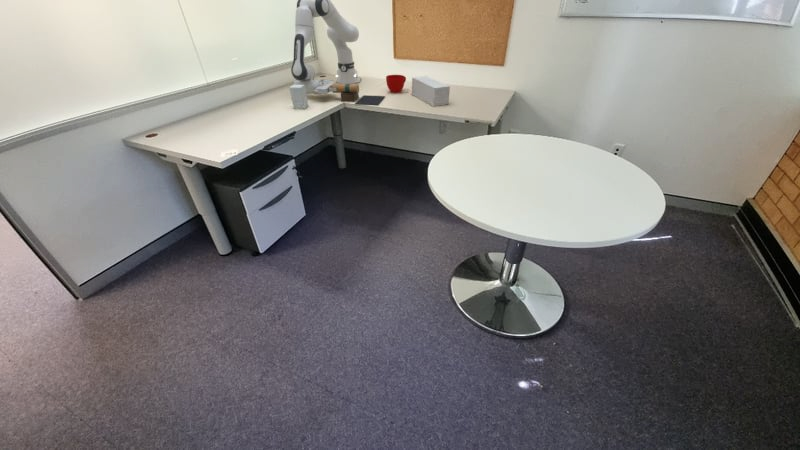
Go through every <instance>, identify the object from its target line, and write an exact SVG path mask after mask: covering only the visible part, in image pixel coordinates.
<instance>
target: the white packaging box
mask: <svg viewBox="0 0 800 450" xmlns="http://www.w3.org/2000/svg"><path fill="white" fill-rule="evenodd" d="M289 92H290V93H289V94H290V97H291V102H292V107H293V109H294V110H305V109H307V107H309V102H308V94H306V90H305V85H294V84H292V85H290V87H289Z"/></svg>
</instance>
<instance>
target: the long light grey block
mask: <svg viewBox="0 0 800 450" xmlns="http://www.w3.org/2000/svg"><path fill="white" fill-rule="evenodd" d="M450 89H451V86H450V85H448V84H446V83H444V82H441V81H439V80H437V79H434V78H432V77H429V76H428V75H424V76H423V75H422V76H413V77H411V95H412V96H415V97H416V98H418V99H420V100H422V101H423V102H425V103H426V104H427V103H428V104H429V105H431V106H432V107H438V106H445V105H449V102H450V93H451V90H450Z"/></svg>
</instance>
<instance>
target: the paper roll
mask: <svg viewBox="0 0 800 450" xmlns="http://www.w3.org/2000/svg"><path fill="white" fill-rule="evenodd" d="M332 88H337V91H332V93H333V94H341V93H360V85H359V83H354V84H340V83H336V84H332Z"/></svg>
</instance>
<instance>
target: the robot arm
mask: <svg viewBox="0 0 800 450" xmlns="http://www.w3.org/2000/svg"><path fill="white" fill-rule="evenodd" d="M294 17H295V19H294V20H295V23H294V26H295V27H294V28H295V35H294V40H293V41H294V42H293V61H292V65H291V68H290V71H291V76H292V77H293V78H294V79H295V80H294V81H293V85H305V90H306V95H310V94H311V95H328V94H329V93H330V92H332V91H337V88H332V84H359V83H360V81H361V77H359V75H358V71H357V69H356V68H355V61H353V60H354V58H353V51H352V49H351V47H349V46H348V44H347V43H354V42H357V41H358V39H359V36H360V31H359V29H358V28H357V26H355V25H354V24H351V23H350V22H349V21H348V20H346V18H344V17H343V16H342V15H341V13H340V12H339V11H338V9H337V7H335V4H334V3H333V1H332V0H297V1H296V9H295V16H294ZM320 17H321V19H323V21H324V22H325V24H326V25H327V29H326V34H327V37H328V39H329V40H330V41H331V42H332V43H333V46H334V47H335V48H334V49H335V51H336V56H337V68H338V69H337V70H336V75H335V77H336V80H335V81H334V80H325V79H315V74H316V73H315V72H316V71H315V69H314V67H313V66H312V65H310V64H306V63H305V48H306V46H307V45H308V44H310V43H311V42H312V41H313V40H314V35H315V34H314V33H315V27H314V18H320ZM332 93H333V92H332Z"/></svg>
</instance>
